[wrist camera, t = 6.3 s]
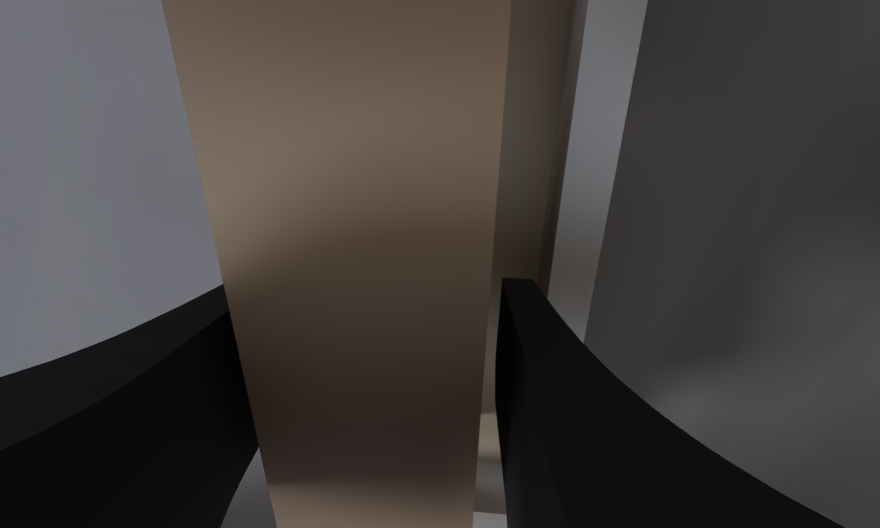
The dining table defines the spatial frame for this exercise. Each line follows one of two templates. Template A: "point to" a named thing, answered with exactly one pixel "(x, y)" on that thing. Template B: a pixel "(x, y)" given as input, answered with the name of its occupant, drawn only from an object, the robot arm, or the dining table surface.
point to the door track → (554, 175)
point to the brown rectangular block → (353, 239)
